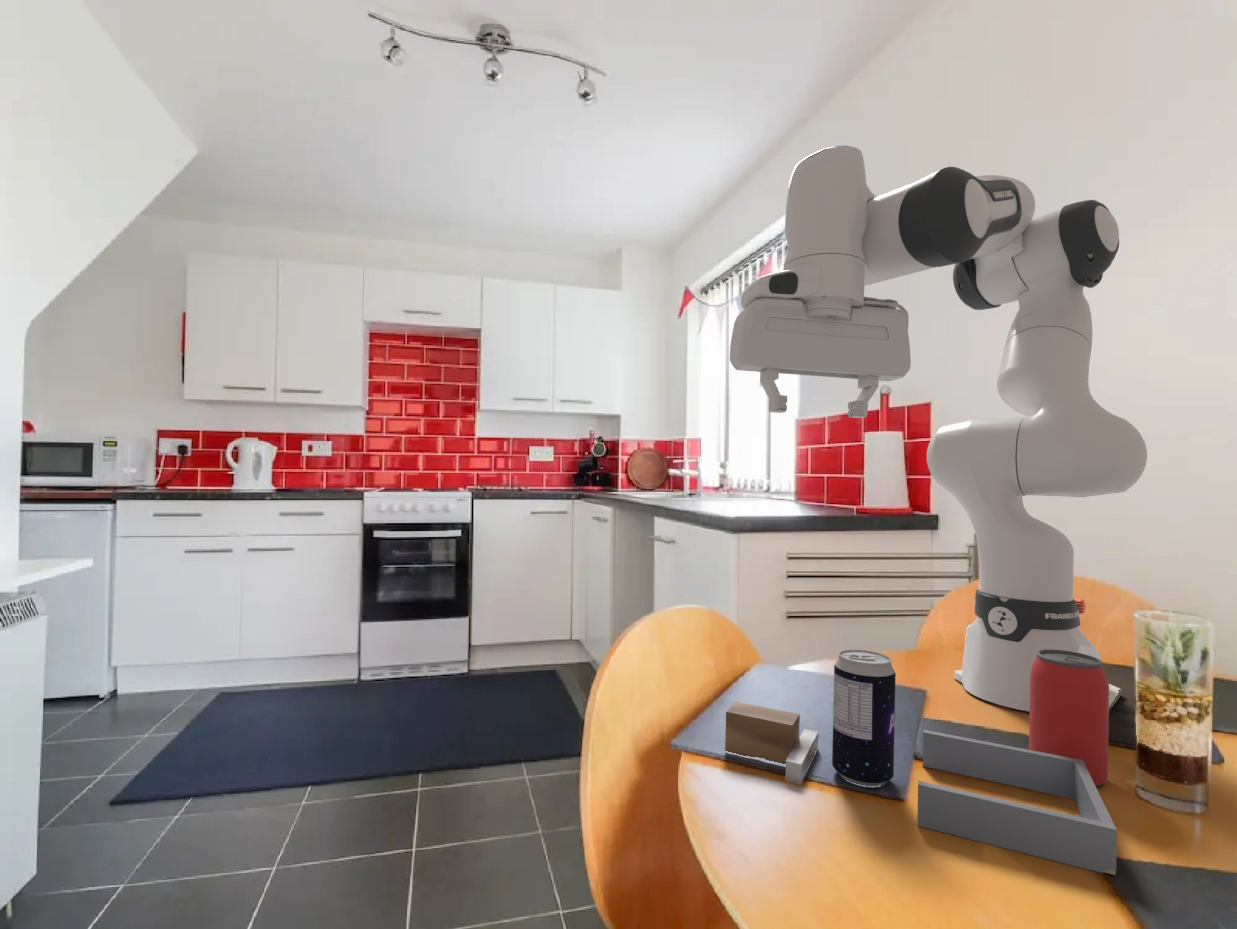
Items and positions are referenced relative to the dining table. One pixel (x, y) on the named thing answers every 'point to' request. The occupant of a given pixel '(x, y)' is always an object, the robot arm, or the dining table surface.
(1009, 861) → the dining table surface
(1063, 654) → the beer can
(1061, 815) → the box
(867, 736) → the beverage can
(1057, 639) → the robot arm
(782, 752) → the brown block
